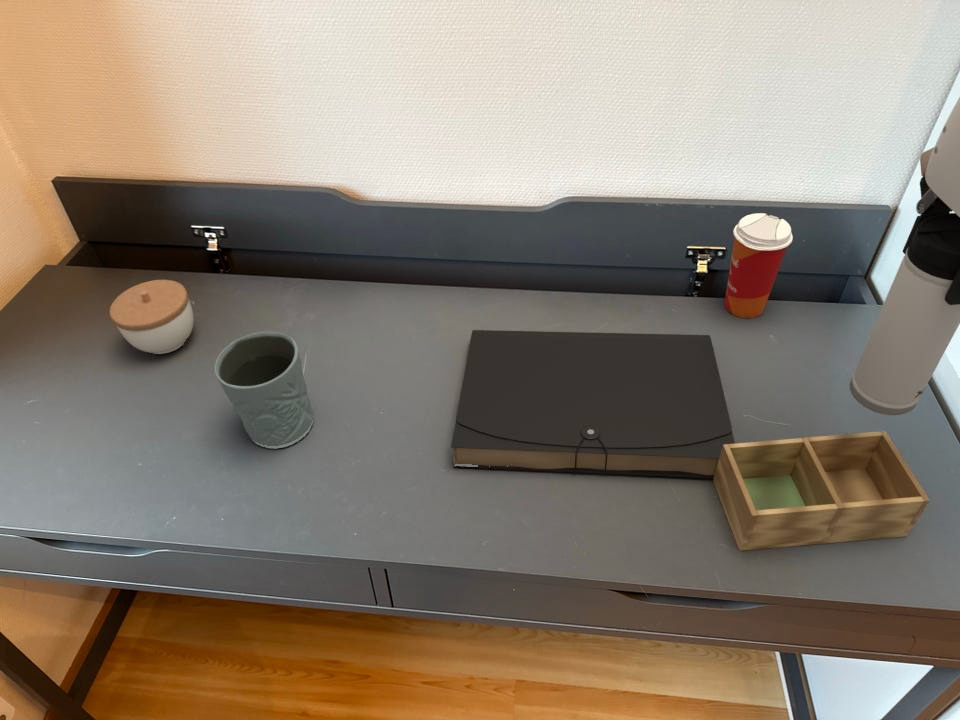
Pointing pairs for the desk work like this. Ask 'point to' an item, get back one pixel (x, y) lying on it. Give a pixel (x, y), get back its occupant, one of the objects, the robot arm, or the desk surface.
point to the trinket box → (154, 315)
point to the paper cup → (755, 262)
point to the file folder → (592, 404)
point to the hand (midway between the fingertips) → (941, 275)
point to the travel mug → (912, 321)
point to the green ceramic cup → (266, 386)
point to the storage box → (817, 490)
